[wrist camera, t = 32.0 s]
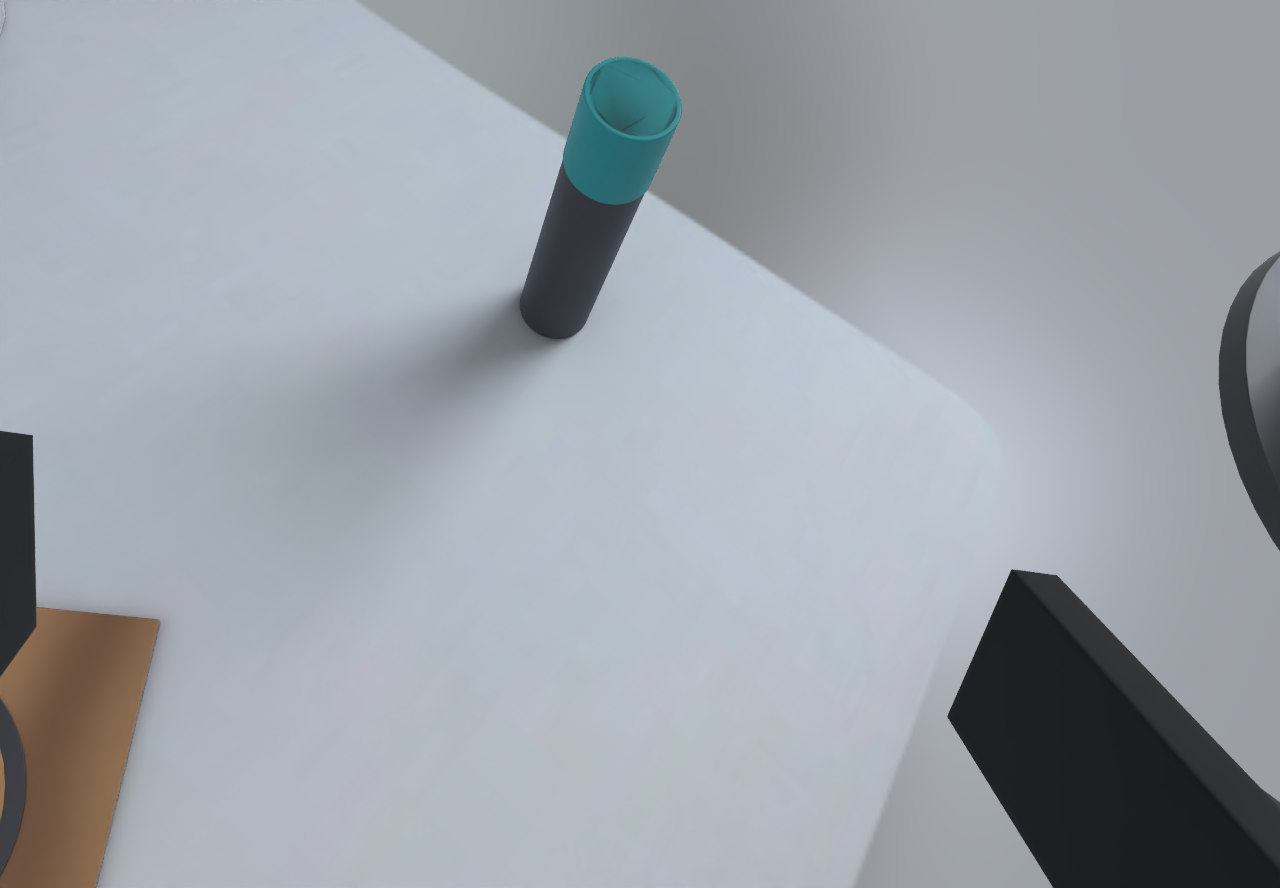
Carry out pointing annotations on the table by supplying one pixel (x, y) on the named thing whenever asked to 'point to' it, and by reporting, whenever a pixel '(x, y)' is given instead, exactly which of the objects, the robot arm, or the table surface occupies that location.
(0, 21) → the coffee cup
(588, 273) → the marker
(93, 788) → the sheet
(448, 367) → the table surface
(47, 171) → the table surface
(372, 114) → the table surface
